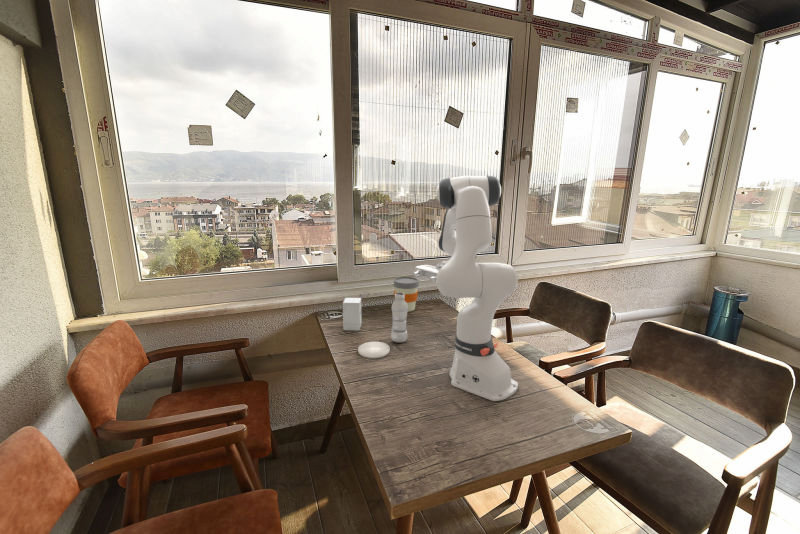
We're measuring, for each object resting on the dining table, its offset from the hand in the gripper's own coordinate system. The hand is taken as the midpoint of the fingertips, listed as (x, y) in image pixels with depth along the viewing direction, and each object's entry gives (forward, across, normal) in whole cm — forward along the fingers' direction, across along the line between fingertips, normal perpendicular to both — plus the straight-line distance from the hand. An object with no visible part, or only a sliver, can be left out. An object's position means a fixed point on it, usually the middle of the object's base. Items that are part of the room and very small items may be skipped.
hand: (422, 277), depth 154 cm
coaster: (+26, 0, +24) cm, 36 cm away
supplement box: (+19, -24, +25) cm, 39 cm away
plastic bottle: (+13, 0, +25) cm, 28 cm away
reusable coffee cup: (-15, -25, +25) cm, 39 cm away
